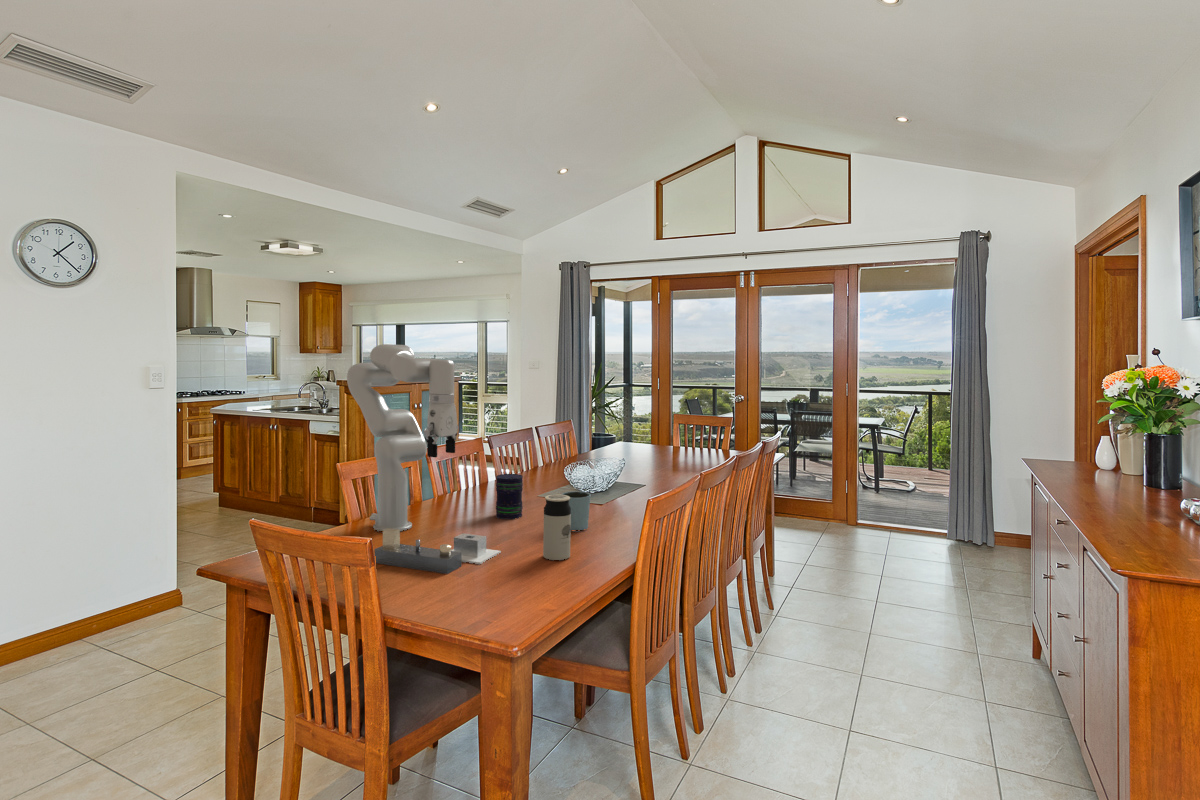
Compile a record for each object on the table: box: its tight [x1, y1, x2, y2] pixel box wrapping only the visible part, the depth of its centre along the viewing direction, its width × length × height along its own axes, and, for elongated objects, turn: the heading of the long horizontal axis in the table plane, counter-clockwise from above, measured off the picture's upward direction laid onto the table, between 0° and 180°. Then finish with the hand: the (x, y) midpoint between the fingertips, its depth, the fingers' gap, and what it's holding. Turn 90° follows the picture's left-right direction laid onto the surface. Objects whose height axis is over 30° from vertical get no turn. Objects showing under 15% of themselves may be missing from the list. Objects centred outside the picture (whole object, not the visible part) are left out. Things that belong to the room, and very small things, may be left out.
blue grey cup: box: [560, 490, 592, 530], centre depth 222 cm, size 10×10×12 cm
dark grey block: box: [374, 528, 463, 575], centre depth 181 cm, size 24×7×9 cm, turn 70°
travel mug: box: [542, 494, 572, 561], centre depth 190 cm, size 8×8×18 cm
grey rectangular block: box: [453, 532, 487, 558], centre depth 190 cm, size 8×5×5 cm, turn 70°
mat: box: [451, 548, 502, 565], centre depth 190 cm, size 14×12×1 cm
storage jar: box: [495, 473, 524, 520], centre depth 238 cm, size 10×10×15 cm
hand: (441, 454), depth 199 cm, fingers open, 9 cm apart
